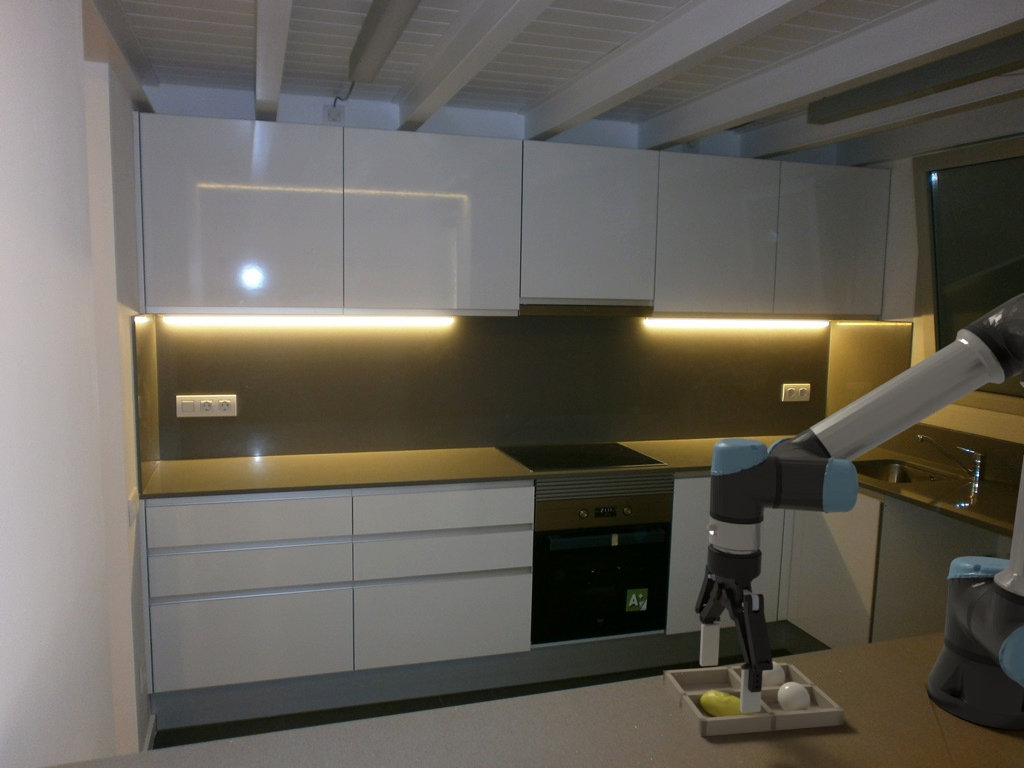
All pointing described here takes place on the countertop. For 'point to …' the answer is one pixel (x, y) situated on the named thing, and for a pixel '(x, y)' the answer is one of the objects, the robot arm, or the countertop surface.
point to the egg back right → (773, 676)
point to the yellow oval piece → (721, 704)
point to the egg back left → (793, 697)
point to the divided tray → (728, 681)
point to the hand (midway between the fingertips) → (728, 686)
